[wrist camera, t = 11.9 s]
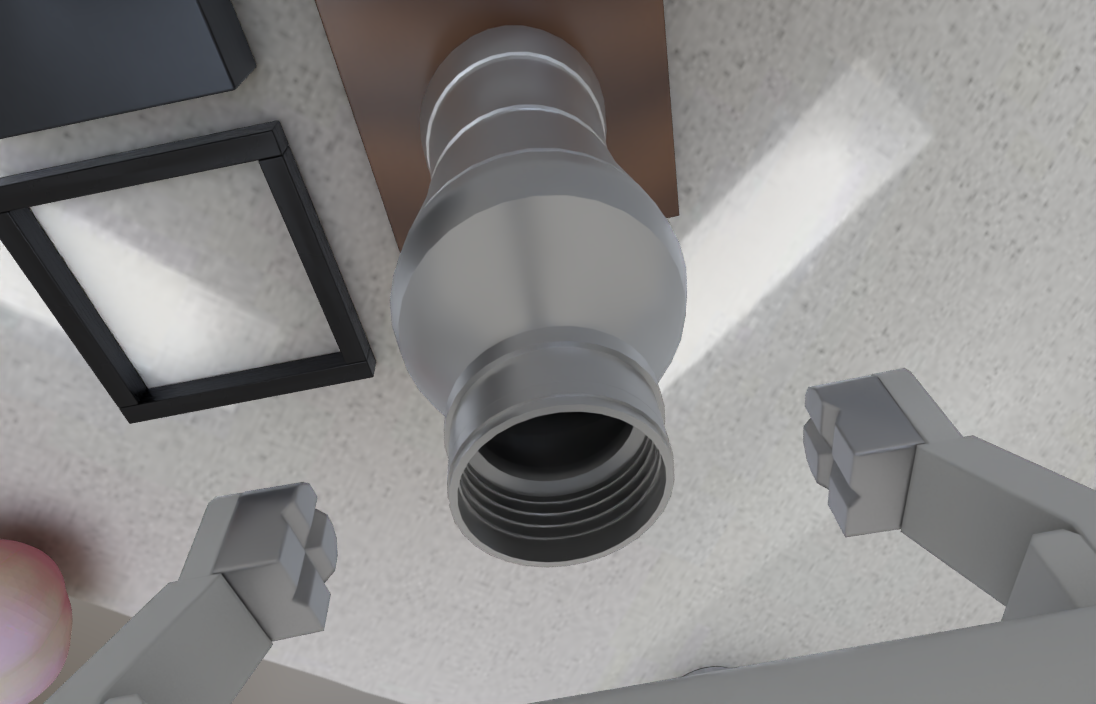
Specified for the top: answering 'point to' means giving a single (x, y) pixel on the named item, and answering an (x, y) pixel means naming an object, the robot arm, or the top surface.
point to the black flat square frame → (8, 198)
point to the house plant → (706, 670)
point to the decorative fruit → (31, 622)
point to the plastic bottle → (539, 306)
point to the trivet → (463, 11)
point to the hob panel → (113, 58)
